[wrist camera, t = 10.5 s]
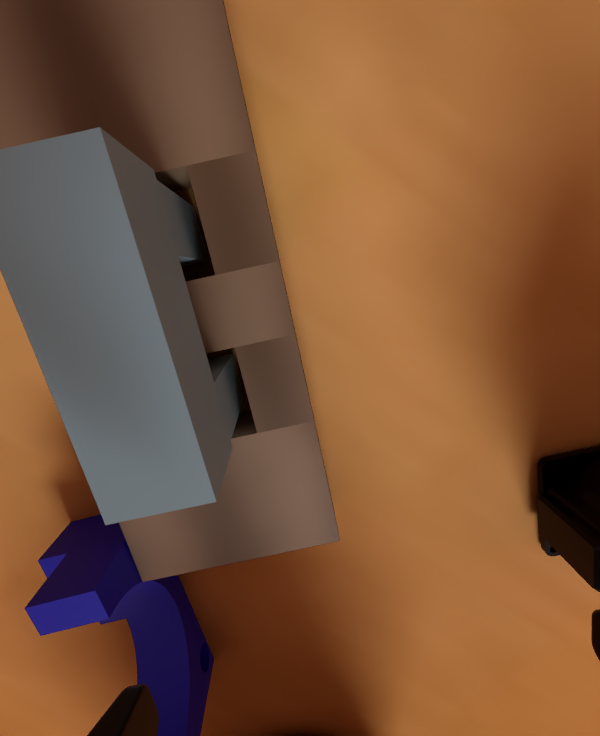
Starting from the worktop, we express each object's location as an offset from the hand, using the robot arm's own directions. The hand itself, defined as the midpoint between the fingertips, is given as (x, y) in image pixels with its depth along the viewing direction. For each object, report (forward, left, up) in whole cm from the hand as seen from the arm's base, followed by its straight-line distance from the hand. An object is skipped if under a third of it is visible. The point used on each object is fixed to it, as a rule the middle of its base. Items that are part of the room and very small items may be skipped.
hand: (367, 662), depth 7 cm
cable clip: (+12, +9, -13) cm, 20 cm away
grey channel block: (+5, -7, -13) cm, 15 cm away
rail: (+5, -7, -13) cm, 15 cm away
